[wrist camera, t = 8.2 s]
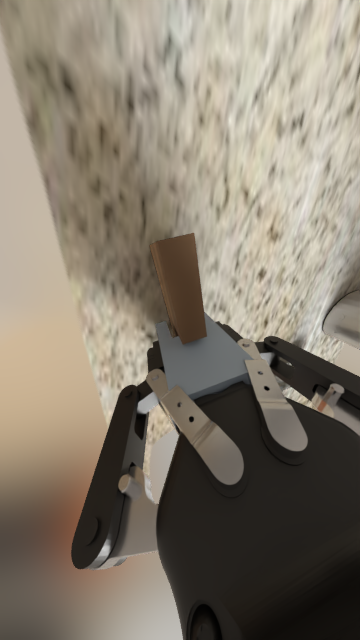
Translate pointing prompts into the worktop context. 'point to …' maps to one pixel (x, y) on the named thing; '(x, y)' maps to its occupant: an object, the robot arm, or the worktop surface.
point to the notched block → (202, 361)
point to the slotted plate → (181, 285)
